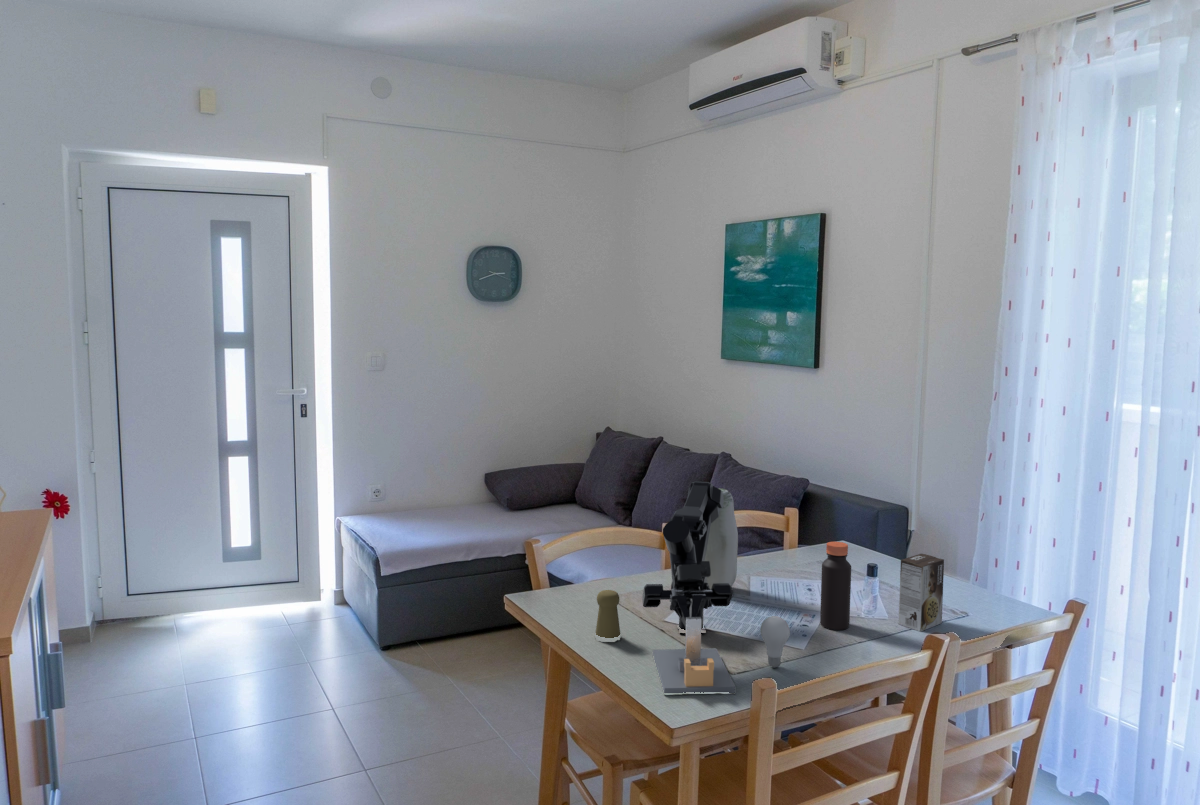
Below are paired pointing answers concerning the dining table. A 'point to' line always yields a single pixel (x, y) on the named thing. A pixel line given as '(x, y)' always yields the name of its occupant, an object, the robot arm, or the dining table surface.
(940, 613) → the coffee box
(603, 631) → the cork
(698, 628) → the bar
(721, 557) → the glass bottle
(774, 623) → the lightbulb
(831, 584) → the black water bottle
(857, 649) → the dining table surface
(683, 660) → the base plate
